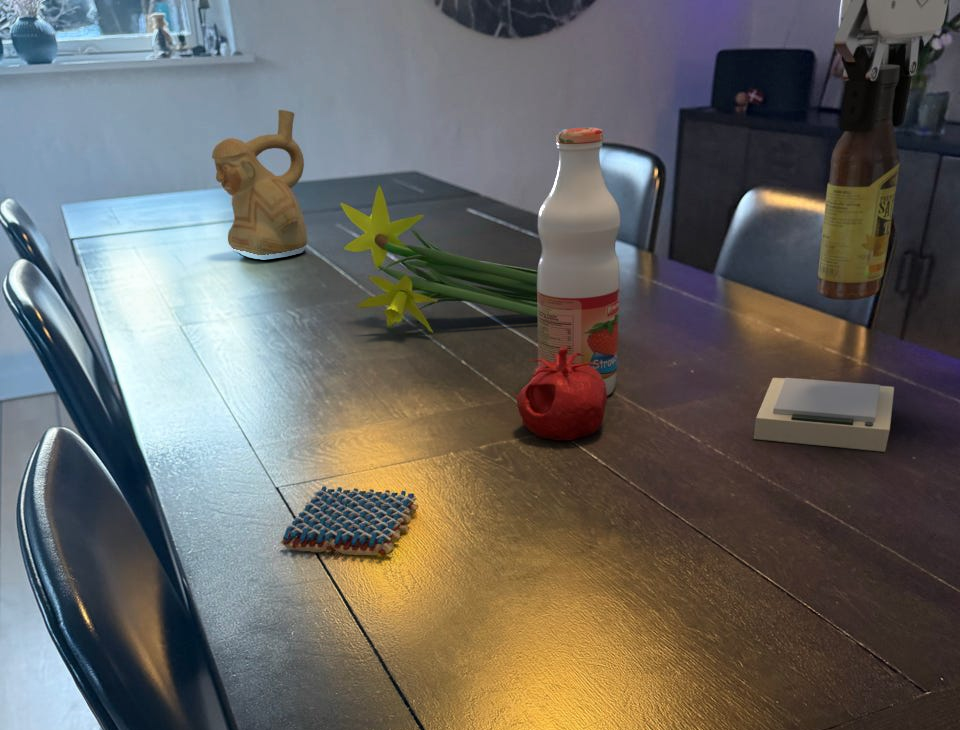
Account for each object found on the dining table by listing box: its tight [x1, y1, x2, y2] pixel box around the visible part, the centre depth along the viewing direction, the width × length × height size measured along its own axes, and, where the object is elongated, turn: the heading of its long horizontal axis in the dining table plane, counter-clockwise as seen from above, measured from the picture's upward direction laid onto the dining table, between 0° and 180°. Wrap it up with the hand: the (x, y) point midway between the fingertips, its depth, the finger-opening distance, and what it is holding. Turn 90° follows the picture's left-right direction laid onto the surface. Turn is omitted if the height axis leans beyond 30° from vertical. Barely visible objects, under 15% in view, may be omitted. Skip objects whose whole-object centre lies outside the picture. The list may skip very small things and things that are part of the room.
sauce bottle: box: [816, 64, 901, 301], centre depth 89 cm, size 7×6×20 cm
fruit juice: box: [536, 127, 621, 397], centre depth 105 cm, size 9×9×28 cm
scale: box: [753, 377, 895, 453], centre depth 100 cm, size 13×13×3 cm
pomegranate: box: [516, 346, 608, 441], centre depth 100 cm, size 10×10×9 cm
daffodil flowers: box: [339, 185, 538, 333], centre depth 135 cm, size 17×15×35 cm
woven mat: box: [280, 486, 419, 556], centre depth 85 cm, size 10×11×2 cm
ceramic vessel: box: [211, 109, 308, 255], centre depth 180 cm, size 17×20×25 cm
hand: (871, 125), depth 86 cm, fingers closed on sauce bottle, 4 cm apart
